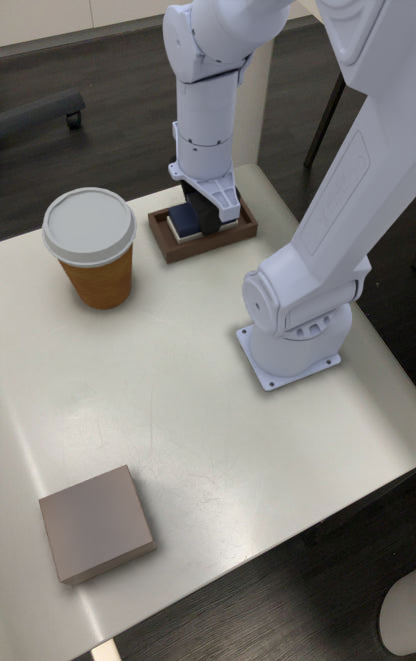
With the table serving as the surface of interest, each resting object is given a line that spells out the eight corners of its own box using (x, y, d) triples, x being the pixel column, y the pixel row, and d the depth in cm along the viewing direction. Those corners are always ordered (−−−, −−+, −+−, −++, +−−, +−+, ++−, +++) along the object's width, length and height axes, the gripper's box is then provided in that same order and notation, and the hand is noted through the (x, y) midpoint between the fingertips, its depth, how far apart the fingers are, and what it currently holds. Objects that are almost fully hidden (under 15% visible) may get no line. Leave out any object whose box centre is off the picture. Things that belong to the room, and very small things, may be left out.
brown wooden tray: (234, 200, 69) (236, 187, 67) (256, 236, 66) (258, 224, 64) (148, 225, 66) (147, 213, 64) (167, 264, 63) (166, 252, 61)
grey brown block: (132, 477, 50) (126, 463, 46) (157, 548, 47) (153, 541, 43) (51, 510, 49) (38, 499, 44) (71, 586, 45) (59, 582, 41)
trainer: (224, 204, 67) (227, 175, 62) (237, 226, 65) (241, 198, 60) (167, 221, 65) (165, 193, 60) (178, 245, 63) (178, 217, 59)
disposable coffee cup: (130, 246, 64) (118, 174, 54) (155, 306, 60) (148, 240, 50) (55, 269, 62) (28, 197, 52) (76, 332, 58) (51, 269, 48)
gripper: (144, 93, 55) (152, 187, 66) (196, 186, 48) (195, 272, 60) (205, 79, 56) (203, 173, 68) (263, 166, 50) (249, 254, 61)
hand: (202, 218), depth 64 cm, fingers closed on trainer, 4 cm apart
